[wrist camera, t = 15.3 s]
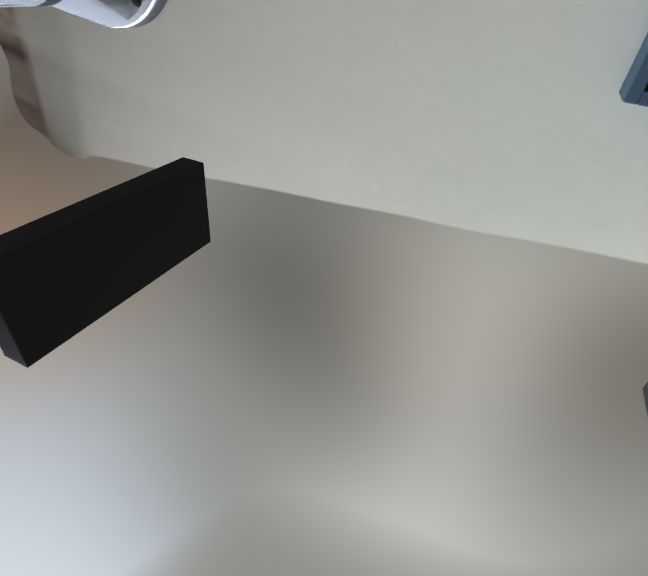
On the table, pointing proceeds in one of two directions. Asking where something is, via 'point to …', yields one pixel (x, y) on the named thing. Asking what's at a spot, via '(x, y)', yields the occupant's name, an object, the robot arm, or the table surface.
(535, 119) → the table surface
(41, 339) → the robot arm
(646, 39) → the tray
